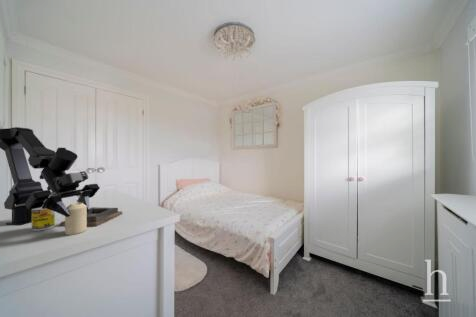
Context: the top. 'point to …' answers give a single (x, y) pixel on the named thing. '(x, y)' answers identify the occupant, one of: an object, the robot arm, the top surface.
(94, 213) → the socket
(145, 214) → the top surface
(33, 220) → the supplement bottle
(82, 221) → the candle
